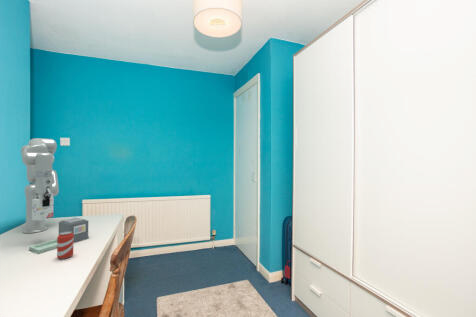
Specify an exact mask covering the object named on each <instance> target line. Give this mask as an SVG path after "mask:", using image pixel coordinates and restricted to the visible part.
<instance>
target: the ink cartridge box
mask: <svg viewBox="0 0 476 317" xmlns="http://www.w3.org/2000/svg"><path fill="white" fill-rule="evenodd" d="M45 194H48V193H45ZM38 196H39V199H32V220H38V221H39V220H43V219H45V220H46V219H51V218H53V217H54V203H55V202H54V201H55V200H54V196H53V193H52V194H51V197H50V206H46V207H43V200H44V199H43V195H42V194H39V195H38Z"/></svg>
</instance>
